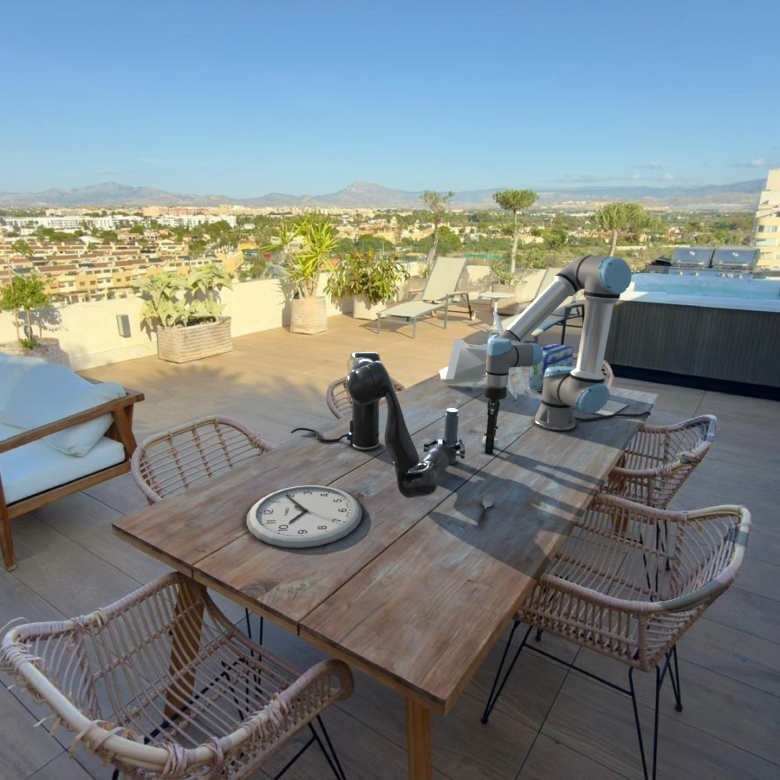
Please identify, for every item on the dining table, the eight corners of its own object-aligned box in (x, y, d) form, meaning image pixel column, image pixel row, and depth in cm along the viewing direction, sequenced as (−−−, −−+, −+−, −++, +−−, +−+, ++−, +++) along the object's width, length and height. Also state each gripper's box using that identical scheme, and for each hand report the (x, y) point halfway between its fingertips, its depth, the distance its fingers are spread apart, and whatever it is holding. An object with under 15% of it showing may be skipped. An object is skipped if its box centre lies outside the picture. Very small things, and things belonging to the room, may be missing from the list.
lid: (486, 438, 183) (487, 433, 182) (500, 442, 180) (500, 437, 179) (479, 443, 179) (480, 438, 178) (493, 447, 176) (494, 442, 175)
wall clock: (364, 539, 124) (235, 543, 122) (364, 545, 125) (236, 550, 122) (360, 481, 153) (256, 483, 150) (360, 486, 153) (256, 488, 151)
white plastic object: (461, 429, 252) (437, 405, 227) (444, 352, 274) (420, 323, 250) (535, 404, 240) (518, 377, 215) (510, 326, 262) (492, 293, 237)
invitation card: (608, 416, 214) (573, 407, 224) (608, 416, 214) (573, 408, 224) (628, 404, 229) (594, 396, 238) (628, 405, 229) (594, 397, 238)
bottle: (449, 465, 168) (452, 413, 163) (440, 461, 171) (442, 409, 166) (458, 461, 171) (461, 410, 165) (449, 457, 174) (451, 407, 168)
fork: (473, 526, 133) (473, 519, 133) (484, 497, 148) (485, 491, 147) (483, 528, 133) (484, 521, 132) (493, 499, 147) (494, 493, 146)
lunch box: (545, 396, 239) (550, 351, 232) (524, 391, 246) (528, 347, 240) (572, 385, 256) (577, 343, 250) (552, 380, 263) (557, 339, 257)
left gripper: (460, 452, 153) (474, 432, 168) (414, 444, 158) (432, 425, 173) (458, 476, 155) (473, 454, 170) (413, 467, 160) (431, 446, 175)
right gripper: (487, 377, 183) (481, 438, 190) (481, 391, 166) (475, 458, 173) (508, 379, 181) (502, 441, 188) (505, 394, 164) (498, 462, 171)
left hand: (452, 440), depth 171 cm, fingers closed on bottle, 4 cm apart
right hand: (489, 449), depth 180 cm, fingers closed on lid, 5 cm apart
